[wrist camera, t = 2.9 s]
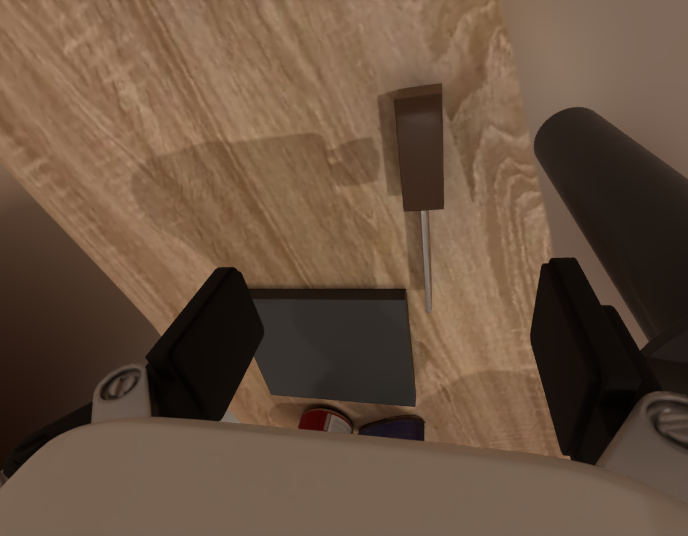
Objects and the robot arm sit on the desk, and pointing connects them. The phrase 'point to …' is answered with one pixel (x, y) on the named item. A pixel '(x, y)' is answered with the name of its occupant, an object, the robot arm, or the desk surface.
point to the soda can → (325, 421)
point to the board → (336, 344)
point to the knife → (421, 160)
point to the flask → (396, 428)
